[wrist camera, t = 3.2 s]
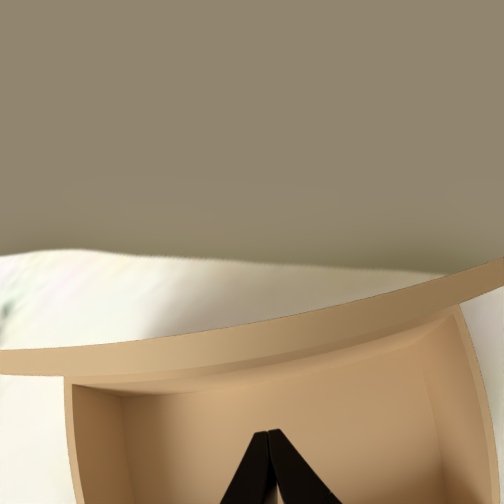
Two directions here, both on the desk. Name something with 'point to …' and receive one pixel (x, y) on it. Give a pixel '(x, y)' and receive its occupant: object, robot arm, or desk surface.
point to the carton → (296, 421)
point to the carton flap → (257, 332)
